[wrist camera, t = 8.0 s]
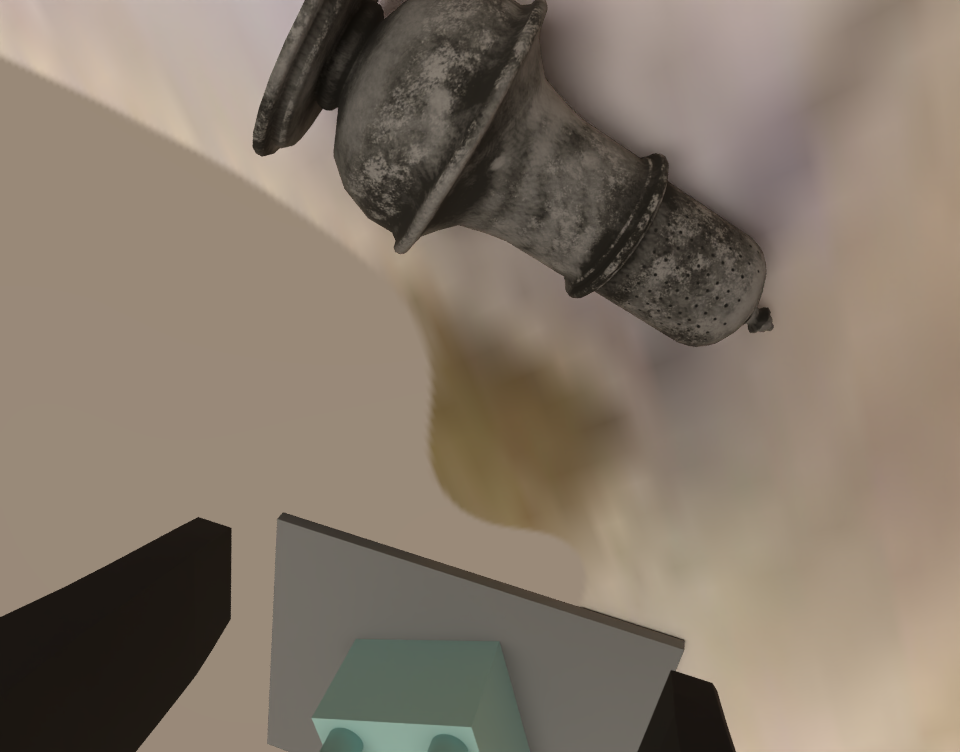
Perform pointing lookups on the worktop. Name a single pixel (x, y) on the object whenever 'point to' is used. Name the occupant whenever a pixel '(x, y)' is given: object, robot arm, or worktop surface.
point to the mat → (455, 617)
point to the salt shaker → (504, 158)
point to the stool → (421, 699)
